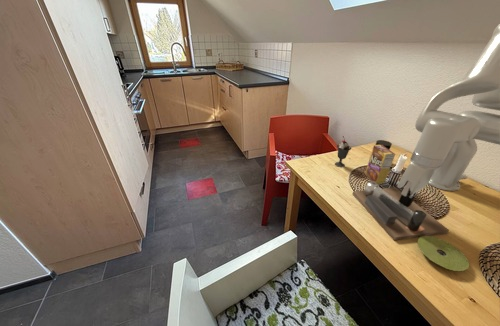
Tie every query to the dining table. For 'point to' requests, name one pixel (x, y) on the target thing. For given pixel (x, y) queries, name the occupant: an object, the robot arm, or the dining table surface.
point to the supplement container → (384, 143)
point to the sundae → (342, 152)
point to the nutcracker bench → (392, 223)
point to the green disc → (443, 253)
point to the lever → (396, 207)
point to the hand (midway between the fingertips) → (404, 203)
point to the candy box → (379, 163)
